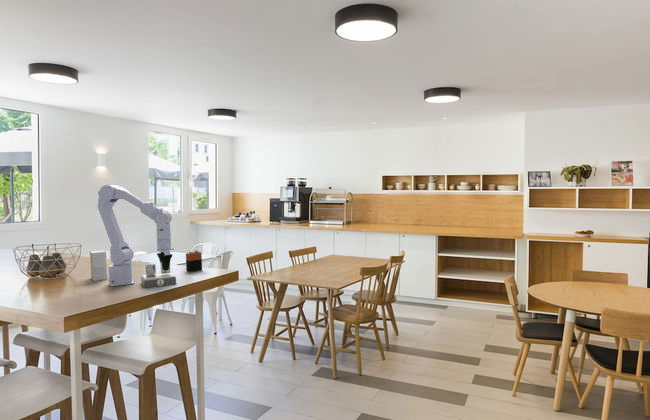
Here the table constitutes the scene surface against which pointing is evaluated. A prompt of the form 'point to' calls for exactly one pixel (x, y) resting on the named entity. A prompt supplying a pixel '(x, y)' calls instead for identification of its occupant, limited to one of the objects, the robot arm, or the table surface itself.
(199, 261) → the battery
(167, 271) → the steel spacer
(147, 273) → the block
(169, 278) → the kitchen scale
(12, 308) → the table surface
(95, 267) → the small box
